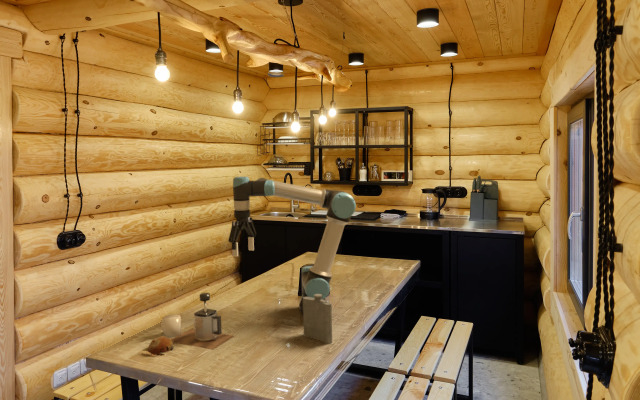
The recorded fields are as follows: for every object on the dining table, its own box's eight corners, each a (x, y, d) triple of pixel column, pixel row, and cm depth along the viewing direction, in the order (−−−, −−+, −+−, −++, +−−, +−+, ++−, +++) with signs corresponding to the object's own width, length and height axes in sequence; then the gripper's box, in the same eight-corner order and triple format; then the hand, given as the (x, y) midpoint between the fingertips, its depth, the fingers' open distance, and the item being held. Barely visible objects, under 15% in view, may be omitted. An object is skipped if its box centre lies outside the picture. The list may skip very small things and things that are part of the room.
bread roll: (167, 353, 215) (161, 335, 217) (181, 348, 210) (174, 330, 211) (148, 361, 207) (142, 343, 208) (161, 356, 202) (155, 337, 203)
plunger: (217, 330, 222) (216, 292, 220) (207, 336, 215) (206, 297, 213) (205, 328, 225) (203, 291, 223) (194, 334, 218) (192, 295, 216)
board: (234, 338, 221) (234, 335, 221) (212, 352, 207) (212, 349, 206) (192, 330, 231) (192, 328, 231) (168, 343, 217) (168, 340, 217)
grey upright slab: (302, 335, 223) (301, 292, 221) (308, 332, 226) (307, 290, 224) (329, 344, 213) (328, 299, 211) (335, 341, 216) (334, 297, 214)
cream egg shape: (185, 334, 227) (184, 315, 226) (173, 341, 219) (172, 321, 218) (169, 331, 230) (168, 313, 229) (157, 337, 223) (156, 318, 222)
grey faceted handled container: (227, 335, 221) (226, 310, 220) (213, 343, 212) (212, 317, 211) (204, 331, 227) (203, 306, 225) (190, 339, 218) (189, 313, 216)
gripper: (249, 205, 246) (251, 247, 248) (219, 212, 224) (221, 258, 226) (262, 206, 243) (263, 248, 245) (233, 213, 220) (235, 259, 223)
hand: (243, 253), depth 236 cm, fingers open, 13 cm apart
